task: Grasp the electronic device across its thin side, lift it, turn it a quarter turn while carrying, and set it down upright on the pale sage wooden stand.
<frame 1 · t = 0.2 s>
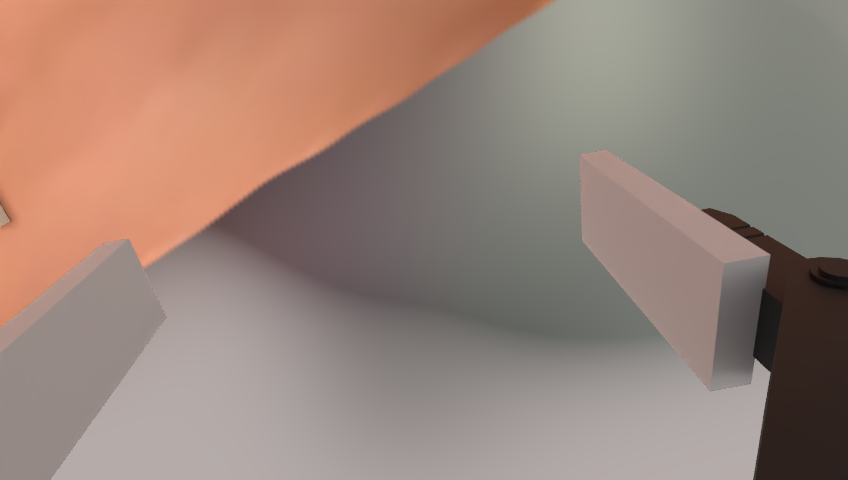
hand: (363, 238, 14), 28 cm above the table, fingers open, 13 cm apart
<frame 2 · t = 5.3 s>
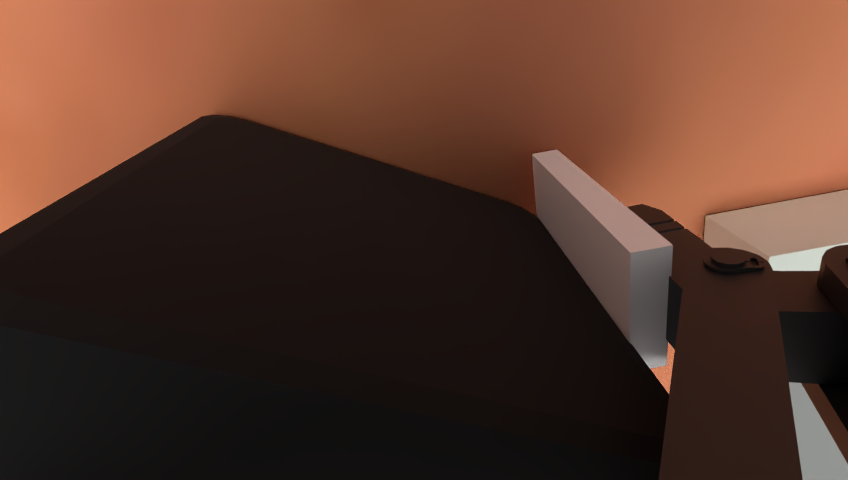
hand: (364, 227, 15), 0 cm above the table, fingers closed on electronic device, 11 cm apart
electronic device: (365, 219, 16), on the table, touching gripper
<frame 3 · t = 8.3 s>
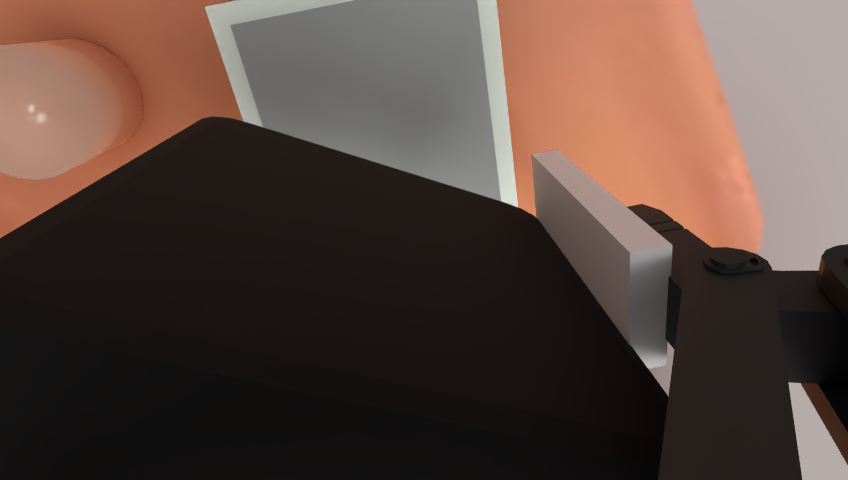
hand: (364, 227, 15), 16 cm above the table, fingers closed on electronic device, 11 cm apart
electronic device: (365, 220, 16), point 15 cm above the table, touching gripper
stand: (379, 112, 29), on the table
pale pink rounded piece: (87, 96, 28), on the table
when the fingers open (5 cm above the table, at t = 11.4 s): electronic device drops 1 cm, resting on stand.
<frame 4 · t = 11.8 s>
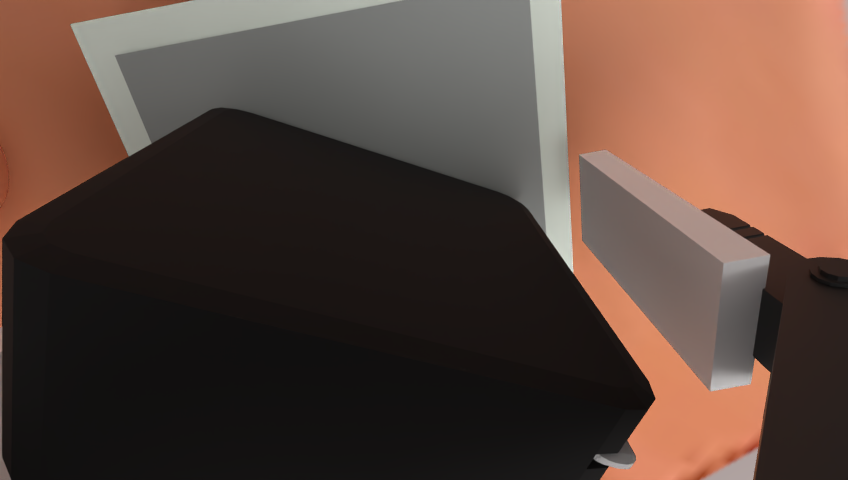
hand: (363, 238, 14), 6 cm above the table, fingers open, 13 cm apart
electronic device: (363, 207, 17), point 3 cm above the table, touching stand
stand: (369, 178, 20), on the table
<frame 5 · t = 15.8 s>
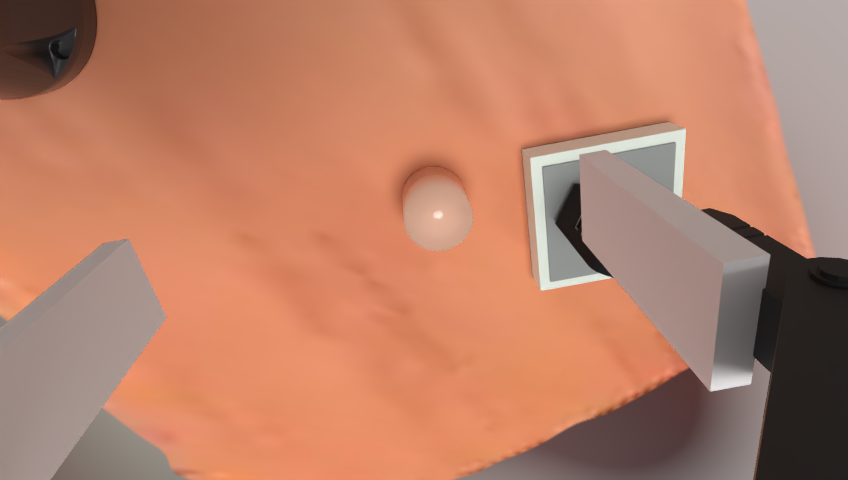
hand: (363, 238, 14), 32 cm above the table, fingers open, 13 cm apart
electronic device: (607, 215, 46), point 3 cm above the table, touching stand
stand: (596, 203, 49), on the table
pale pink rounded piece: (432, 196, 48), on the table
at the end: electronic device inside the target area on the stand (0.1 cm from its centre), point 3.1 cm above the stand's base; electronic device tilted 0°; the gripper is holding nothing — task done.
